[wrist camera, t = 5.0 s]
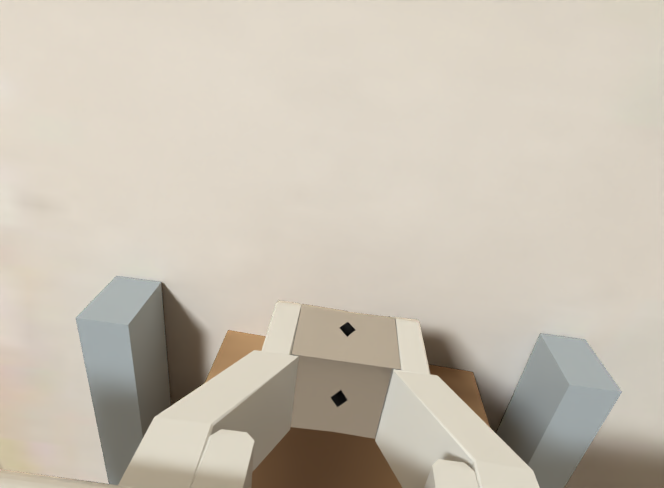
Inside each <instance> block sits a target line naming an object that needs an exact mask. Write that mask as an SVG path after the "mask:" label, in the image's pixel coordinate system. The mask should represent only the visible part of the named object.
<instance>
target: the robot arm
mask: <svg viewBox="0 0 664 488" xmlns="http://www.w3.org/2000/svg"><path fill="white" fill-rule="evenodd" d="M290 427H295V428H304V429H313V430H322V431H331V432H338V433H344V434H350V435H356V436H362V437H368V438H374V439H375V441H376V443H377V445H378V447H379V448H380V450H381V452H382V454H383V455H384V457H385V459H386V460H387V462H388V464H389V466H390V467H391V469H392V471H393V472H394V474H395V476H396V478H397V479H398V481H399V483H400V484H401V486H402V488H540V487H539V485H538V482H537V479H536V477H535V474H534V472H533V470H532V469H531V468H530V467H529V466H528V465H527V464H526V463H525V462H524V461H523V460H522V459H521V458H520V457H519V456H518V455H517V454H516V453H515V452H514V451H513V450H512V449H511V448H510V447H509V446H508V445H507V444H506V443H505V442H504V441H503V440H502V439H501V438H500V437H499V436H498V435H497V434H496V433H495V432H494V431H493V430H492V429H491V428H490V427H489V426H488V425H487V424H486V423H485V422H484V421H483V420H482V419H481V418H480V417H479V416H478V415H477V414H476V413H475V412H474V411H473V410H472V409H471V408H470V407H469V406H468V405H467V404H466V403H465V402H464V401H463V400H462V399H461V398H460V397H459V396H458V395H457V394H456V393H455V392H454V391H453V390H452V389H451V388H450V387H449V386H448V385H447V384H446V383H445V382H444V381H443V380H442V379H441V378H440V377H439V376H437V375H431V374H430V370H429V365H428V360H427V355H426V350H425V346H424V341H423V336H422V331H421V326H420V322H419V321H418V320H417V319H409V318H400V317H394V318H393V317H386V316H378V315H370V314H363V313H355V312H348V311H344V310H338V309H332V308H326V307H320V306H313V305H307V304H302V305H301V304H300V303H294V302H287V301H280V300H278V302H277V303H276V305H275V308H274V311H273V315H272V318H271V321H270V324H269V328H268V331H267V334H266V338H265V341H264V344H263V347H262V351H258V350H254V351H252V352H251V353H249V354H248V355H246V356H245V357H243V358H242V359H240V360H239V361H237V362H236V363H234V364H233V365H231V366H230V367H228V368H227V369H225V370H224V371H222V372H221V373H219V374H218V375H216V376H215V377H213V378H212V379H210V380H209V381H207V382H206V383H204V384H203V385H201V386H200V387H198V388H197V389H195V390H194V391H192V392H191V393H189V394H188V395H187V396H185V397H184V398H182V399H181V400H179V401H178V402H176V403H175V404H173V405H172V406H170V407H169V408H167V409H166V410H164V411H163V412H161V413H160V414H158V415H157V416H155V417H154V419H153V420H152V422H151V424H150V426H149V428H148V430H147V432H146V434H145V435H144V437H143V439H142V441H141V443H140V445H139V447H138V449H137V450H136V452H135V454H134V456H133V458H132V460H131V462H130V464H129V465H128V467H127V469H126V471H125V473H124V475H123V477H122V479H121V480H120V482H119V484H118V485H112V484H105V483H98V482H91V481H83V480H76V479H69V478H62V477H54V476H47V475H40V474H33V473H25V472H18V471H11V470H3V469H0V488H251V485H252V472H253V471H254V470H255V469H256V468H257V466H258V465H259V464H260V463H261V462H262V461H263V460H264V459H265V457H266V456H267V455H268V454H269V453H270V452H271V451H272V450H273V448H274V447H275V446H276V445H277V444H278V443H279V442H280V441H281V439H282V438H283V437H284V436H285V435H286V434H287V433H288V431H289V430H290Z"/></svg>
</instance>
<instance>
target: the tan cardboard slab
mask: <svg viewBox="0 0 664 488" xmlns="http://www.w3.org/2000/svg"><path fill="white" fill-rule="evenodd" d="M265 338H266V336H260V335H254V334H248V333H243V332H237V331H231V330H228V331H227V334H226V336H225V338H224V340H223V343H222V345H221V347H220V350H219V352H218V354H217V356H216V359H215V361H214V363H213V366H212V368H211V370H210V372H209V375H208V377H207V379H206V382H207V381H209V380H210V379H212V378H213V377H215V376H216V375H218V374H219V373H221V372H222V371H224V370H225V369H227V368H228V367H230V366H231V365H233V364H234V363H236V362H237V361H239V360H240V359H242V358H243V357H245V356H246V355H248V354H249V353H251V352H252V351H254V350H258V351H262V347H263V344H264V341H265ZM428 365H429V364H428ZM429 370H430V374H431V375H437V376H439V377H440V378H441V379H442V380H443V381H444V382H445V383H446V384H447V385H448V386H449V387H450V388H451V389H452V390H453V391H454V392H455V393H456V394H457V395H458V396H459V397H460V398H461V399H462V400H463V401H464V402H465V403H466V404H467V405H468V406H469V407H470V408H471V409H472V410H473V411H474V412H475V413H476V414H477V415H478V416H479V417H480V418H481V419H482V420H483V421H484V422H485V423H486V424H487V425H488V426H489V422H488V419H487V416H486V413H485V410H484V406H483V403H482V400H481V397H480V394H479V390H478V387H477V384H476V381H475V378H474V374H473V372H470V371H464V370H459V369H453V368H447V367H441V366H435V365H429ZM206 382H205V383H206ZM489 427H490V426H489ZM251 488H402V486H401V484H400V483H399V481H398V479H397V478H396V476H395V474H394V472H393V471H392V469H391V467H390V466H389V464H388V462H387V460H386V459H385V457H384V455H383V454H382V452H381V450H380V448H379V447H378V445H377V443H376V441H375V439H374V438H368V437H362V436H356V435H350V434H344V433H338V432H331V431H322V430H313V429H304V428H295V427H290V430H289V431H288V433H287V434H286V435H285V436H284V437H283V438H282V439H281V441H280V442H279V443H278V444H277V445H276V446H275V447H274V448H273V450H272V451H271V452H270V453H269V454H268V455H267V456H266V457H265V459H264V460H263V461H262V462H261V463H260V464H259V465H258V466H257V468H256V469H255V470H254V471H253V472H252V485H251Z"/></svg>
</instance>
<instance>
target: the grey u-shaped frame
mask: <svg viewBox="0 0 664 488" xmlns="http://www.w3.org/2000/svg"><path fill="white" fill-rule="evenodd" d="M76 322H77V327H78V332H79V337H80V342H81V347H82V352H83V357H84V362H85V367H86V372H87V377H88V382H89V387H90V392H91V397H92V402H93V407H94V412H95V417H96V422H97V427H98V432H99V437H100V442H101V447H102V452H103V457H104V462H105V467H106V472H107V477H108V482H109V484H112V485H118V484H119V482H120V480H121V479H122V477H123V475H124V473H125V471H126V469H127V467H128V465H129V464H130V462H131V460H132V458H133V456H134V454H135V452H136V450H137V449H138V447H139V445H140V443H141V441H142V439H143V437H144V435H145V434H146V432H147V430H148V428H149V426H150V424H151V422H152V420H153V419H154V417H155V416H157V415H158V414H160V413H161V412H163V411H164V410H166V409H167V408H169V407H170V406H171V399H170V386H169V374H168V361H167V349H166V336H165V324H164V311H163V299H162V286H161V282H156V281H149V280H141V279H134V278H127V277H119V276H116V277H115V278H114V279H113V280H112V281H111V282H110V283H109V284H108V285H107V286H106V287H105V288H104V289H103V290H102V291H101V292H100V293H99V294H98V295H97V296H96V297H95V298H94V299H93V301H92V302H91V303H90V304H89V305H88V306H87V307H86V308H85V309H84V310H83V311H82V312H81V313H80V314H79V315H78V316H77V317H76ZM621 393H622V391H621V390H620V388H619V387H618V386H617V384H616V383H615V381H614V380H613V378H612V377H611V376H610V374H609V373H608V371H607V370H606V368H605V367H604V366H603V364H602V363H601V361H600V360H599V359H598V357H597V356H596V354H595V353H594V351H593V350H592V349H591V347H590V346H589V344H588V343H587V341H586V340H584V339H577V338H569V337H562V336H555V335H547V334H540V335H539V337H538V340H537V342H536V344H535V346H534V349H533V351H532V353H531V356H530V358H529V360H528V362H527V365H526V367H525V369H524V371H523V374H522V376H521V378H520V380H519V383H518V385H517V387H516V390H515V392H514V394H513V396H512V399H511V401H510V403H509V405H508V408H507V410H506V412H505V414H504V417H503V419H502V421H501V423H500V426H499V428H498V430H497V433H496V434H497V435H498V436H499V437H500V438H501V439H502V440H503V441H504V442H505V443H506V444H507V445H508V446H509V447H510V448H511V449H512V450H513V451H514V452H515V453H516V454H517V455H518V456H519V457H520V458H521V459H522V460H523V461H524V462H525V463H526V464H527V465H528V466H529V467H530V468H531V469H532V470H533V472H534V474H535V477H536V479H537V482H538V485H539V487H540V488H564V487H565V485H566V484H567V482H568V480H569V479H570V477H571V475H572V474H573V472H574V470H575V469H576V467H577V465H578V464H579V462H580V461H581V459H582V457H583V456H584V454H585V452H586V451H587V449H588V447H589V446H590V444H591V442H592V441H593V439H594V437H595V436H596V434H597V432H598V431H599V429H600V427H601V426H602V424H603V422H604V421H605V419H606V418H607V416H608V414H609V413H610V411H611V409H612V408H613V406H614V404H615V403H616V401H617V399H618V398H619V396H620V394H621Z"/></svg>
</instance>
